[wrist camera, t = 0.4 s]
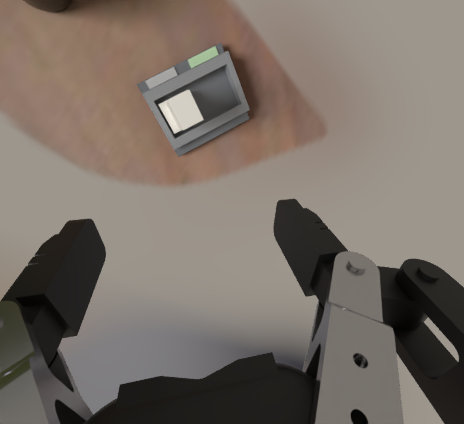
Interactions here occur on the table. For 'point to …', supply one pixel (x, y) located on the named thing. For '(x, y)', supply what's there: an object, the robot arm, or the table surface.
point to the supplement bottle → (49, 4)
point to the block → (181, 111)
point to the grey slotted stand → (199, 97)
